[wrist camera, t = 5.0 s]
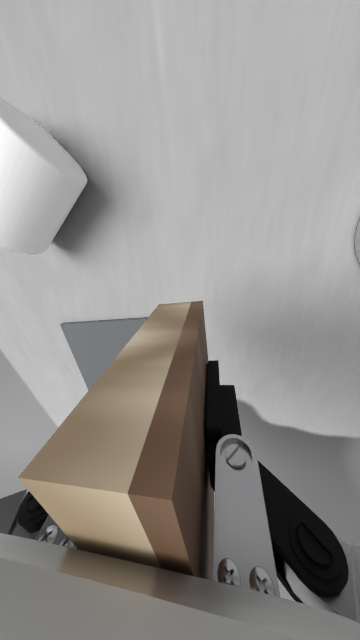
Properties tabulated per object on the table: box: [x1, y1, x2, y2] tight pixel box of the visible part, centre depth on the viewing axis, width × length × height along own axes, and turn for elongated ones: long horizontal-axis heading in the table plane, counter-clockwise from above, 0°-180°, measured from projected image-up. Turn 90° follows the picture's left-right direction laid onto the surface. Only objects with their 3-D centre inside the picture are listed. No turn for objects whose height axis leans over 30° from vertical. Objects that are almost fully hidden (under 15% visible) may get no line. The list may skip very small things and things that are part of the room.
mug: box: [0, 97, 87, 254], centre depth 18 cm, size 12×10×8 cm
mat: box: [60, 317, 148, 390], centre depth 30 cm, size 20×14×1 cm
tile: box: [18, 301, 214, 581], centre depth 8 cm, size 2×9×8 cm, turn 8°
